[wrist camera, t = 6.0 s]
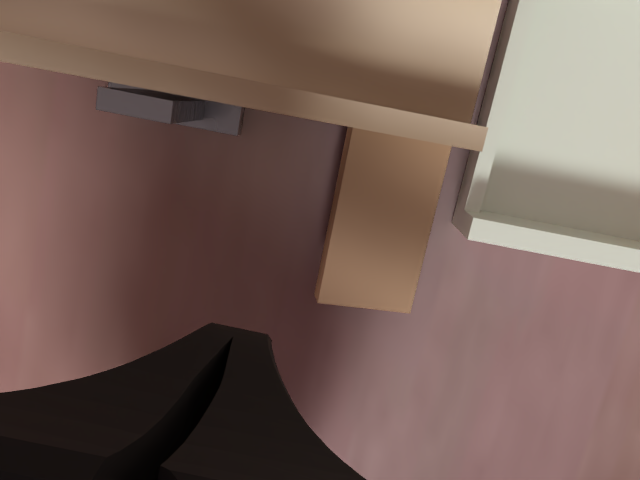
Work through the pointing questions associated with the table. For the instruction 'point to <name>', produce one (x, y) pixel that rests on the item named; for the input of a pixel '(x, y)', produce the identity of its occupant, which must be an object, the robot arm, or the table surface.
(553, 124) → the dish
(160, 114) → the pivot
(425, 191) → the lever
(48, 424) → the robot arm
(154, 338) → the table surface
